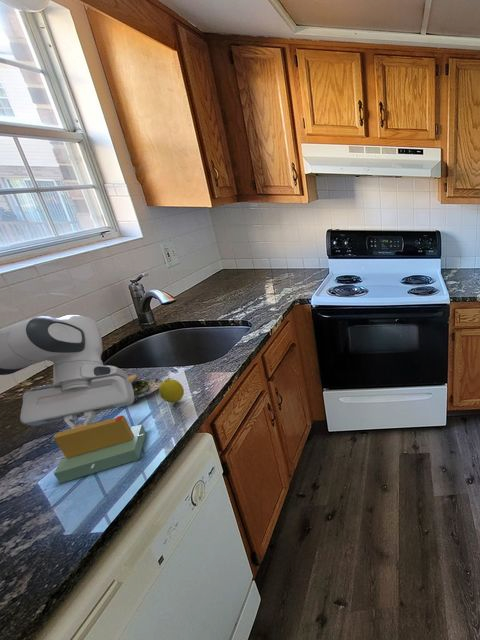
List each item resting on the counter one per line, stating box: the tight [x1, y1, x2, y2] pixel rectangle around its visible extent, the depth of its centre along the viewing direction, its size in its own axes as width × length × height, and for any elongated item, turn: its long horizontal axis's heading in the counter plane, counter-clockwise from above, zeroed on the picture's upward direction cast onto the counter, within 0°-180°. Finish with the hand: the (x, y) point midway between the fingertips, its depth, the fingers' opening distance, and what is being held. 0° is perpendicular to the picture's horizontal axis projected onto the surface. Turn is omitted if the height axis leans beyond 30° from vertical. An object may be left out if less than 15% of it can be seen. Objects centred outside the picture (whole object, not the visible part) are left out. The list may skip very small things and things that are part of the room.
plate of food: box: [127, 374, 163, 404], centre depth 111 cm, size 12×12×8 cm
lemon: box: [158, 378, 185, 404], centre depth 106 cm, size 6×6×8 cm
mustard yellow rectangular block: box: [53, 415, 134, 458], centre depth 85 cm, size 12×2×6 cm, turn 120°
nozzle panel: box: [53, 423, 147, 484], centre depth 87 cm, size 16×16×3 cm
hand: (81, 432), depth 86 cm, fingers closed
